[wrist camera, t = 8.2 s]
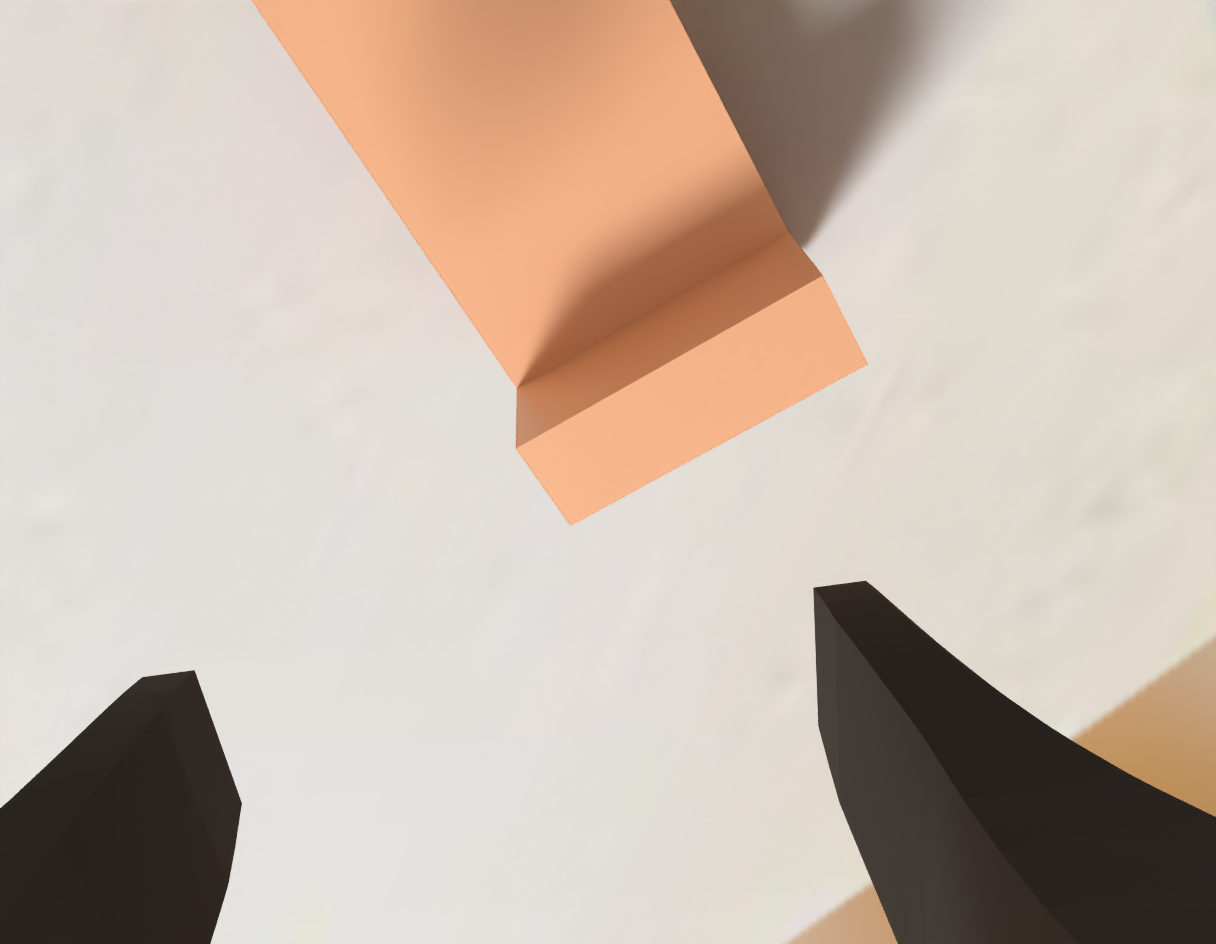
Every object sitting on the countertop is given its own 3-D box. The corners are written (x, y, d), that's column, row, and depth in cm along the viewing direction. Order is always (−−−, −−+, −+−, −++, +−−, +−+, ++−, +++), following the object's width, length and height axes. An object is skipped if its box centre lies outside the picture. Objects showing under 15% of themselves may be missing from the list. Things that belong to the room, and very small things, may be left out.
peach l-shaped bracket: (800, 272, 21) (868, 363, 17) (561, 407, 22) (569, 525, 18) (357, -583, 15) (294, -763, 11) (57, -348, 16) (-105, -432, 12)
